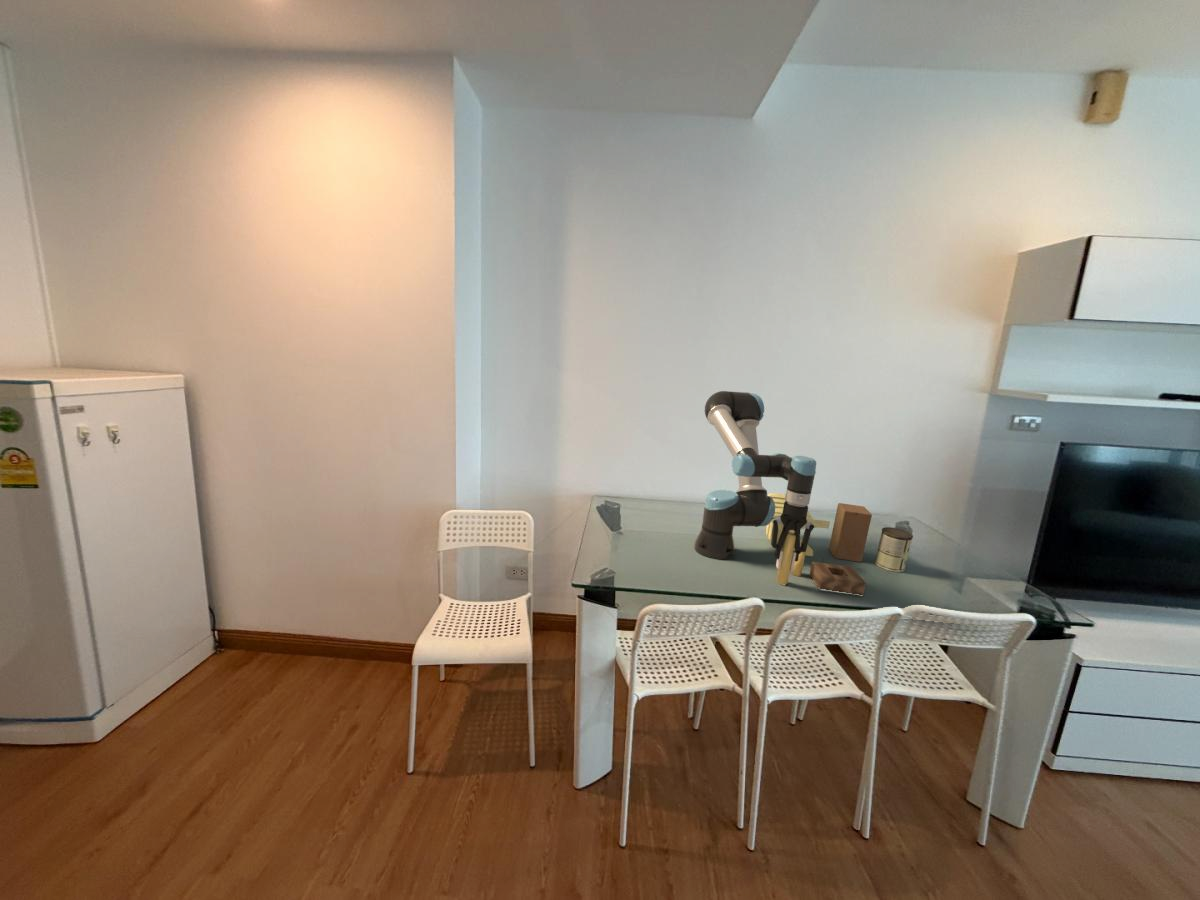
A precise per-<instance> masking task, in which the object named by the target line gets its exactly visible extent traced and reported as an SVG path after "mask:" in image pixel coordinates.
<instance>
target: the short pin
mask: <svg viewBox="0 0 1200 900" xmlns="http://www.w3.org/2000/svg"><path fill="white" fill-rule="evenodd" d="M805 557H806V555H805V553H803V552H801V553H800V554H799V557H798V561H795V563H794V568H793V571H790V574H791V575H792V574H793V576H795V575H796V577H801V576H802V573H803V568H804V562H805V559H806V558H805Z"/></svg>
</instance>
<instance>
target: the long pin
mask: <svg viewBox="0 0 1200 900" xmlns="http://www.w3.org/2000/svg"><path fill="white" fill-rule="evenodd" d="M795 541H796V535H795V533H793V532H789V533H788V534H787V536H786V539H785V542H784V544H783V547H782V550H783V556H782V561H781V567H780V569H777V575H776V580H775V582H776V581H777V582H779V583H781V584H787V585H788V583H789V577H790V573H791V571H790V567H791V562H792V556H793V551H794V546H795ZM777 582H776V583H777Z"/></svg>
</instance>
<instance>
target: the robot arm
mask: <svg viewBox="0 0 1200 900" xmlns="http://www.w3.org/2000/svg"><path fill="white" fill-rule="evenodd" d="M764 405H765V403H764V401H763V398H762V397H761V396H760V395H758V394H756V393H754V392H752V393H751V392H748V391H746V392H742V391H728V390H721V391H717V392H715V393H712V394H711V395H710V396H709V397H708V399H707V401H706V402H705V405H704V416H705V418H706V419H707V422H708V423H709V424H710V425H712V426H714V428H715V430H716V431H717V432H718V435H719V436H720V438H721V439H722V441H723V443H724V444H725V446H726V447H727V450H728V451H729V453H730V454H731V456H732V461H731V467H732V472H733V473H734V474H735V476H737V477H738V487H739V488H738V489H737V490H736V491H732V490H727V489H719V490H713V491H710V492H709V493H708V494H707V495H706V497H705V502H704V508H703V515H702V516H703V517H702V523H701V529H700V532H699V534H698V535H697V537H696V539H695V540H694V541H695V542H694V548H693V549H694V550H695V551H696V553H699V554H700V555H702V556H704V557H707V558H712V559H717V560H726V559H727V560H728V559H730V558H733V557H734V556H735V551H736V550H735V549H736V547H735V542H734V541H735V540H734V536H733V535H734V533H733V532H734V528H735V527H755V528H757V527H765V526H766V527H767V525H768V524H769V523H770V522H771V521H772V522H773V531H772V540H771V542H770V545H771V547H772V548H773V549H775V552H774V558H775V559H776V564H775V566H776V569H777V570H778V569H780V567H781V561H782V556H783V550H782V547H783V544H784V542H785V539H786V536H787V534H788V533H789V530H794V533H795V535H796V541H795V550H794V551H793V556H792V562H791V567H790V572H791V571H793V568H794V563H795V561H798V557H799V554H800V553H801V552H806V549H807V545H809V541H810V537H811V533H812V532H813V530H814V525H813V524H812V523H809V522H807V519H806V517H807V512H809V506H808V505H810V500H811V495H812V489H813V487H814V486H813V485H814V480H815V475H816V473H817V472H816V470H817V461H816V459H814V458H813V457H808V456H804V455H794V456H793V457H791V456H789V455H787V454H784V453H780V452H778V453H773V454H772V455H770V454H769V455H768V454H760V453H759V445H758V444H759V443H758V433H757V427H758V426H759V425H760V422H761V421H762V419H763V418H764V416H765V415H764V414H765V406H764ZM762 478H781V479H784V480H785V481H787V486H786V492H785V494H786V496H785V500H786V501H785V502H784V507H783V513H782V515H781V516H780V518H777V519H775V518H773V517H774V514H775V502H774V500H773V498H772V497H770V496H767V495H768V490H767V489H766V488H764V486H763V482H762V480H763V479H762ZM780 522H782V523H783V525H784V526H783V530H782V532H781V535H780V537H779V540H778V542H777V536H778V525H779V524H780ZM805 524H806V525H805ZM804 525H805V527H806V528H804V533H803V535H802V543H801V547H800V539H801V530H802V529H801V528H802V527H803V526H804ZM800 529H801V530H800Z"/></svg>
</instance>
